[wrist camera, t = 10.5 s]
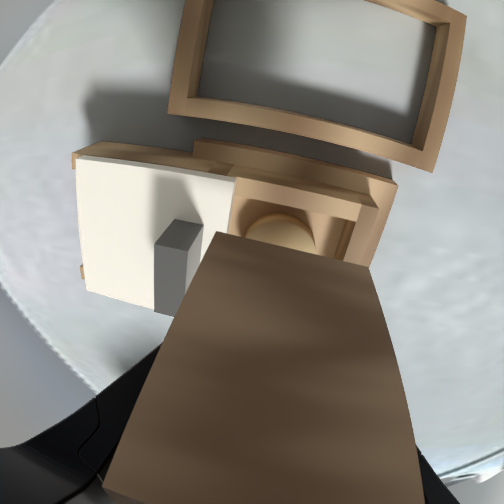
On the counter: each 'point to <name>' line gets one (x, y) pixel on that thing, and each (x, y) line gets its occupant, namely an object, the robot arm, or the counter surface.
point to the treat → (283, 232)
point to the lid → (147, 227)
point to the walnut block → (271, 390)
